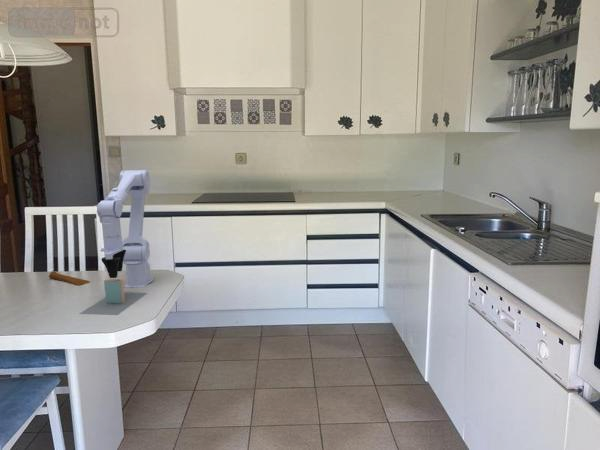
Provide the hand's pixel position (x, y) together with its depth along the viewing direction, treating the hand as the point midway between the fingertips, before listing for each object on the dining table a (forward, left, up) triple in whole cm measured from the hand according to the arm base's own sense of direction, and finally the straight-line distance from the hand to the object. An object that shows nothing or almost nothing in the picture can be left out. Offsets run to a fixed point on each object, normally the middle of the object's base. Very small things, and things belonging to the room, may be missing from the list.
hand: (116, 274), depth 154 cm
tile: (+3, +1, -9) cm, 10 cm away
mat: (+3, +1, -9) cm, 10 cm away
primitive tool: (-20, -32, -10) cm, 39 cm away
